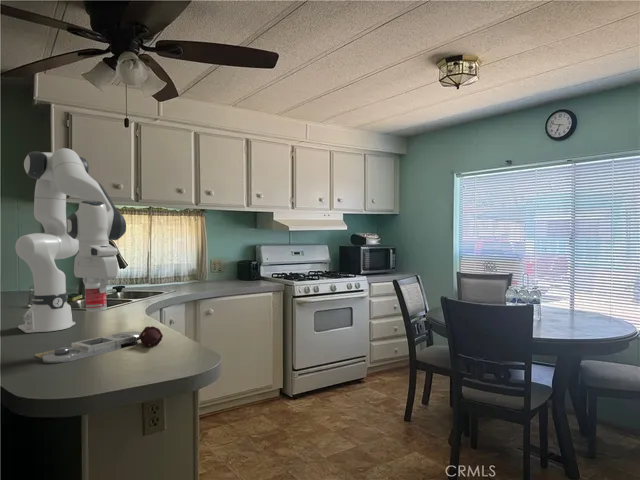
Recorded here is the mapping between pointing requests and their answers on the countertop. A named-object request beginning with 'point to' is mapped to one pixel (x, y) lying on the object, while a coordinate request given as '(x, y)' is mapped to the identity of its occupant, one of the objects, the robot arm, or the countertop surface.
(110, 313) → the countertop surface
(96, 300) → the pill bottle
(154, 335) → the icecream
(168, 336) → the countertop surface
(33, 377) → the countertop surface
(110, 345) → the flat tray with frame
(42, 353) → the link plate
